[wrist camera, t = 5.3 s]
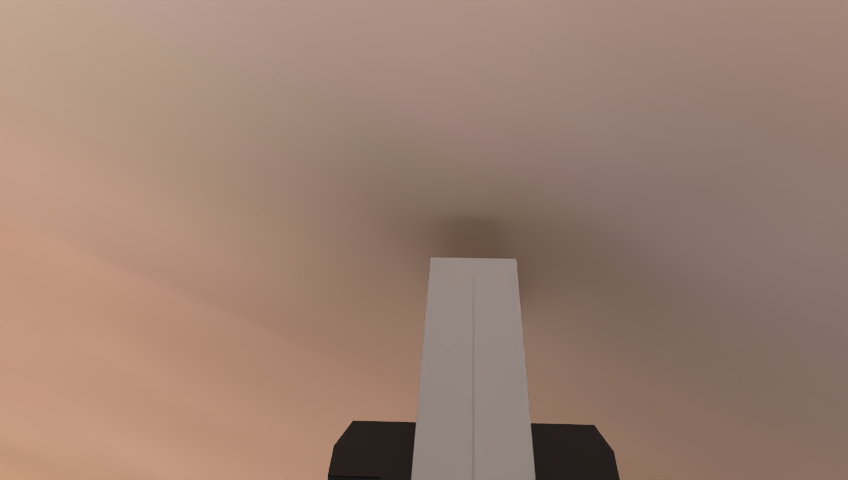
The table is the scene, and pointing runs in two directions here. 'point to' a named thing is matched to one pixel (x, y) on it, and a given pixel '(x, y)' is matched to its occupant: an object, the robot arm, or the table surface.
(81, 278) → the table surface
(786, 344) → the table surface
